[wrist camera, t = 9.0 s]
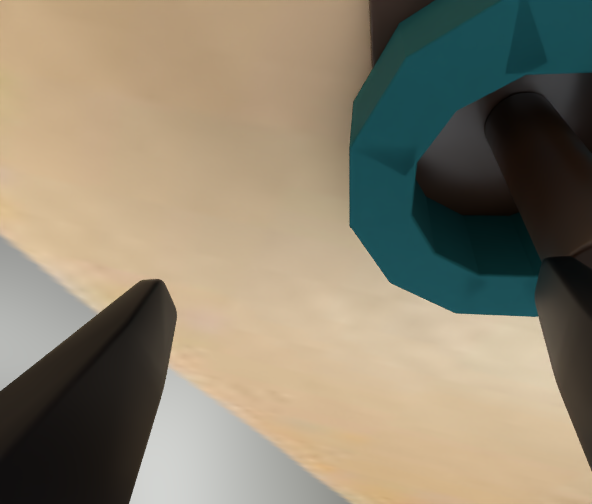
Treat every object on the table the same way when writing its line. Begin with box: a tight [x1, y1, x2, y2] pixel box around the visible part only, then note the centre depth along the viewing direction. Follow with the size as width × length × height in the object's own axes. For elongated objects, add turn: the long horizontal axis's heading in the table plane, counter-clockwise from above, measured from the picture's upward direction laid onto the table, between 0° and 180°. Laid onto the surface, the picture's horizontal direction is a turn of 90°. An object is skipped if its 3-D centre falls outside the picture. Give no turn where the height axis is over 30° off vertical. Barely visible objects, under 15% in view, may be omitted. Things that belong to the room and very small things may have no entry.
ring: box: [349, 0, 592, 317], centre depth 12 cm, size 9×9×3 cm
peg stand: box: [369, 0, 592, 269], centre depth 11 cm, size 8×8×8 cm
